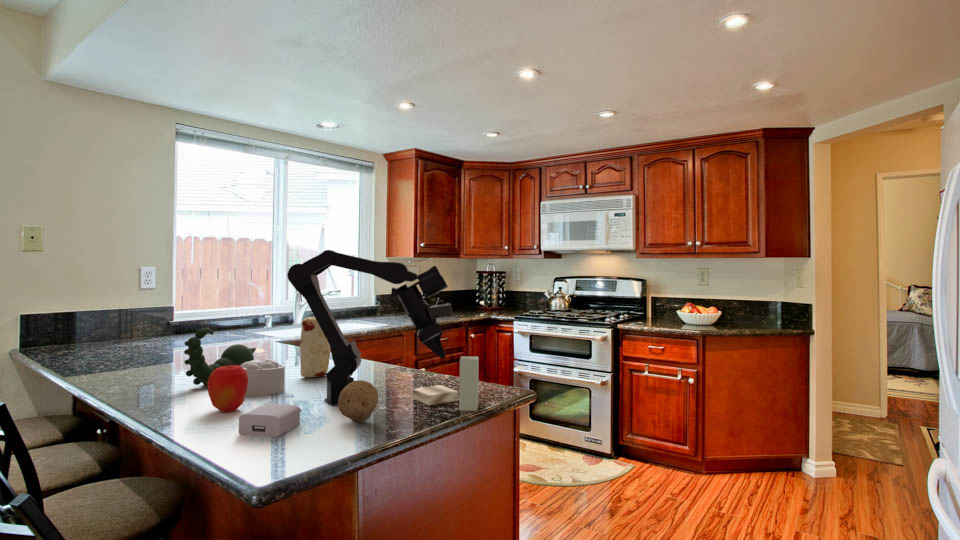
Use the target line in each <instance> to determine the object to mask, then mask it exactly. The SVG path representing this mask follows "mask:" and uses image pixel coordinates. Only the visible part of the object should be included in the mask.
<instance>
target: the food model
mask: <svg viewBox="0 0 960 540" xmlns="http://www.w3.org/2000/svg"><path fill="white" fill-rule="evenodd" d="M299 349H300V354H299V356H300V357H299V360H300V361H299V362H300V376H301V377H302V378H319V377H325V376H326V374H327V373H328V372H329V365H330V358H331V348H330V345H329V343H328V341H327V339H326V337H325V335H324V333H323V331H322V330H321V328H320V326H319V324H318V322H317V320H316V318H315V316H308V317H307V318H303V319H302V322H301V331H300V348H299Z"/></svg>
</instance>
